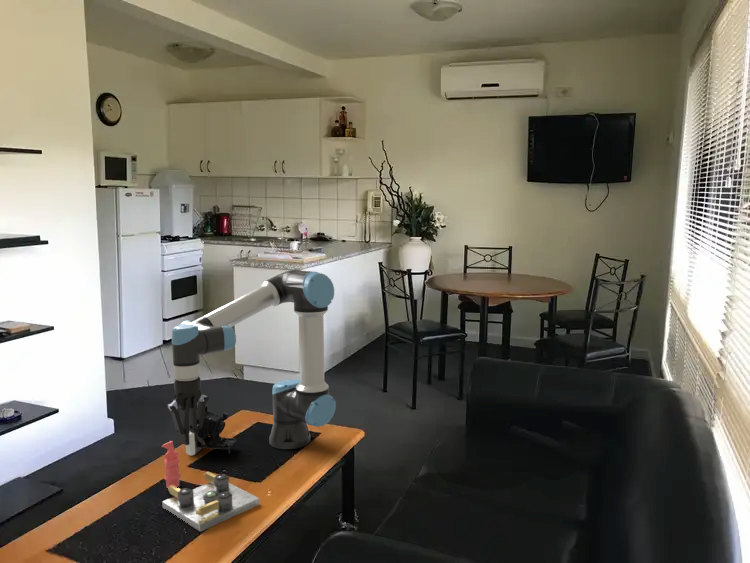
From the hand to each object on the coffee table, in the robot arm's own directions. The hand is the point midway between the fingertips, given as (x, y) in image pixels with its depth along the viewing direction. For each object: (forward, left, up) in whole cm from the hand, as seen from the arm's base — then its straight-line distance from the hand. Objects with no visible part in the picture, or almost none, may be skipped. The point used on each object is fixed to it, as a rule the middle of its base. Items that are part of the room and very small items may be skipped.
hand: (190, 453), depth 187 cm
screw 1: (+5, +2, -12) cm, 13 cm away
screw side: (+3, +16, -12) cm, 20 cm away
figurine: (0, -11, -14) cm, 18 cm away
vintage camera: (-24, -25, -14) cm, 38 cm away
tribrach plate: (-1, +9, -14) cm, 17 cm away
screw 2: (-7, +2, -12) cm, 14 cm away
